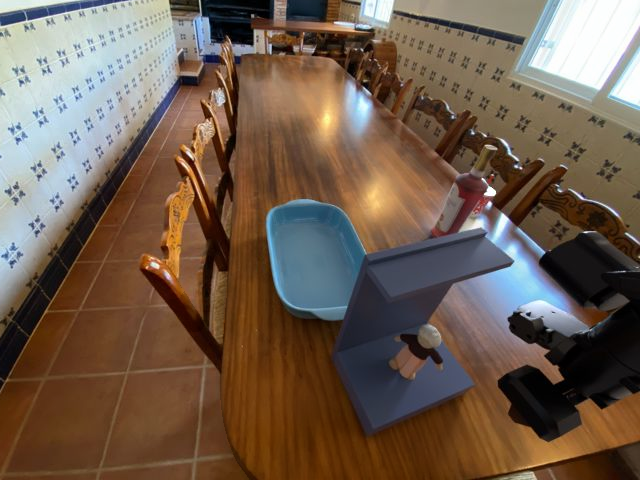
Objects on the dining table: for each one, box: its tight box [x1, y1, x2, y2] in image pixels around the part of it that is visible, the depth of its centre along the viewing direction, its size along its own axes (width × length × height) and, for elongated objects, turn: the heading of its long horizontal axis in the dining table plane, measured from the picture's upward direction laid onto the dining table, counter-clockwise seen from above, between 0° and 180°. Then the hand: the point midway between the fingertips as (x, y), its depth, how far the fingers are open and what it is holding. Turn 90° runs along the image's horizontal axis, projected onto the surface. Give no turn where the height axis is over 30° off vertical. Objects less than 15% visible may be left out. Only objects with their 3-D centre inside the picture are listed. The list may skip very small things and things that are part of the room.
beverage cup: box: [469, 174, 497, 218], centre depth 90 cm, size 6×6×14 cm
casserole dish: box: [265, 198, 367, 322], centre depth 70 cm, size 37×22×7 cm, turn 9°
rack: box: [330, 226, 515, 438], centre depth 45 cm, size 13×20×28 cm, turn 110°
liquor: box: [430, 144, 498, 238], centre depth 75 cm, size 7×7×28 cm
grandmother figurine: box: [389, 323, 443, 380], centre depth 47 cm, size 8×4×13 cm, turn 61°
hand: (536, 405), depth 39 cm, fingers open, 9 cm apart
